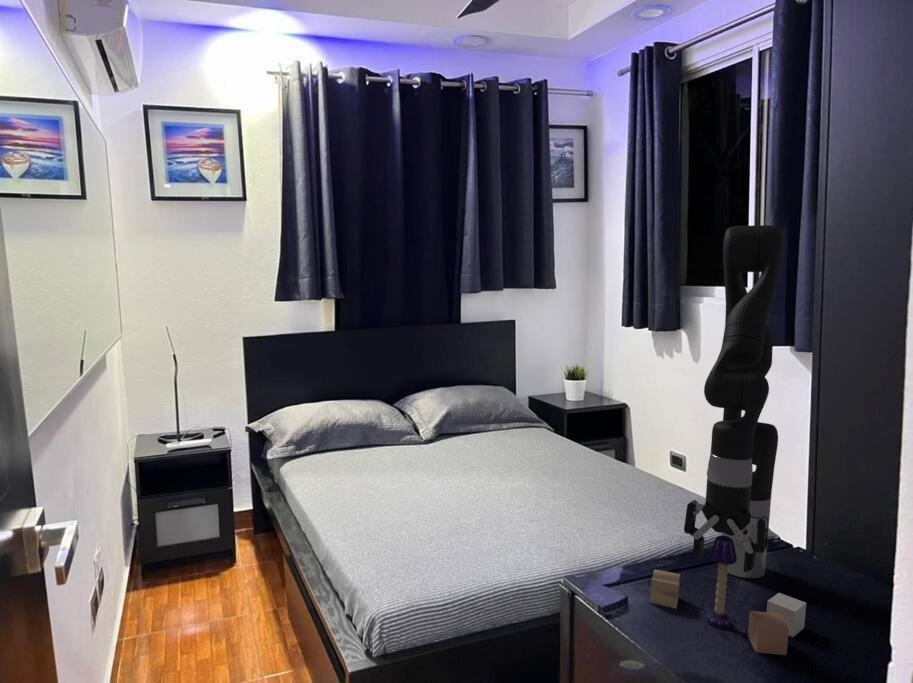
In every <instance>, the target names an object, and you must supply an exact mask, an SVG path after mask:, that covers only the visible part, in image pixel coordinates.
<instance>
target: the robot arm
mask: <svg viewBox="0 0 913 683" xmlns="http://www.w3.org/2000/svg"><path fill="white" fill-rule="evenodd" d="M722 246H723V247H722V250H723V251H722V253H723V254H722V255H723V257H722V258H723V276H724V290H725V291H724V293H725V297H724V298H725V317H724V318H725V320H724V329H723V330H724V331H723V337H722V345H721V349H720V351H719V354H718V356H717V359H716V361H715V363H714V365H713V366H712V368H711V370H710V372H709V373H708V375H707V378H706V380H705V381H704V382H705V383H704V386H703V394H704V398H705V400H706V401H707V403H708V405H710V406H712V407H714V408H719V409H723V414H722V416H723V417H722V420H720V421H716V422H714V424H713V425H712V429H711V443H710V444H711V445H710V456H709V459H708V463H707V471H706V478H707V479H706V490H705V502H704V504H702V503H698V501H697V500H695V499H692V500H690V502H689V503H688V504H687V506H686V513H685V518H684V526H683V531H684V533H685V534H687V535H688V534H689V535H690V536H692V537H693V538H692V539H693V550H692V552H693V555H695V558H696V559H699V560H701V559H702V558H703V557H704V551H705V537H704V535H705V534H706V533H707V532H708V531H710V529H712V530H714V532H715V533H720V534H721V535H722V536H728V537H730V538H732V540H733V542H734V547H735V551H736V556H737V561H736V562H735V563H734V564H728V567H727V569H728V574H729V575H733V576H736V577H739V578H744V579H759V578H761V577H763V576H765V572H766V562H767V561H766V560H767V552H768V546H769V543H768V542H769V539H768V538H769V530H770V529H769V527H770V518H771V517H770V516H771V515H770V514H771V502H772V493H773V483H774V482H773V481H774V473H775V465H776V461H777V460H776V458H777V453H778V447H779V446H778V445H779V432H778V428H777V427H776V426H775V425H774V424H771V423H766V422H760V421H759V418H760V416H761V413H762V411H763V409H764V406H765V405H766V403H767V402H766V401H767V400H768V397H769V393H770V386H769V385H770V384H769V382H768V380H767V377H766V376H767V375H768V373H769V372H770V369H771V368H772V365H773V341H774V340H773V337H774V336H773V333H772V329H771V328H770V326H769V324H768V323H767V322H768V318H769V314H770V311H771V306H772V304H773V300H774V297H775V295H776V294H775V293H776V291H777V287H778V282H779V280H780V275H781V272H782V267H783V265H784V259H785V251H786V239H785V232H784V230H783V228H782V227H781V226H780V225H775V224H772V225H771V224H767V225H766V224H763V225H762V224H760V225H759V224H758V225H735V226H730V227H728V228H727V229H726V231H725V233H724V236H723V244H722ZM743 273H760V276H759V277H758V279H757V281H756V282H755V283H754V285H753V286H752V288H751V289H749V291H747V288H746V286H745V282H744V277H743ZM742 412H744V413H743V415H742ZM753 466H755V470H754V471H753ZM701 511H702V514H703V516H704V517H705V519H706V522H705V523H704V524H702V526H700V527H699V528H698V527H696V521H697V520H696V519H697V515H699V514H700V513H701Z"/></svg>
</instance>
